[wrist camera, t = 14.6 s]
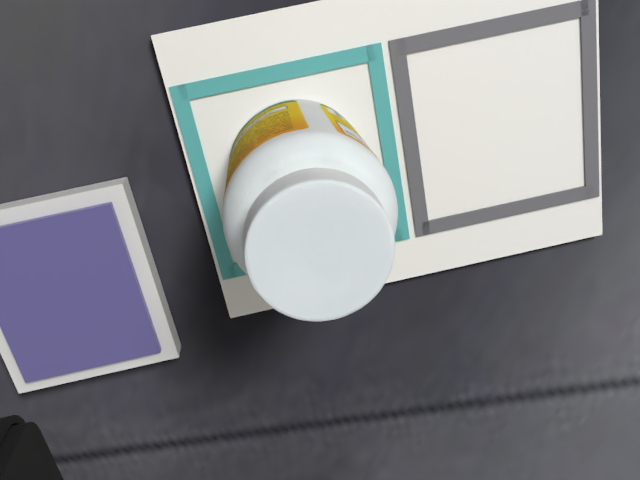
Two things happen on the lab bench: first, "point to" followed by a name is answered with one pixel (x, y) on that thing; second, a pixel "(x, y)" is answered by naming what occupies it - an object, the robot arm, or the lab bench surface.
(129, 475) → the lab bench surface
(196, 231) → the lab bench surface
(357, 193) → the supplement bottle
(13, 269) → the ink pad
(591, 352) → the lab bench surface
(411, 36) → the print sheet
